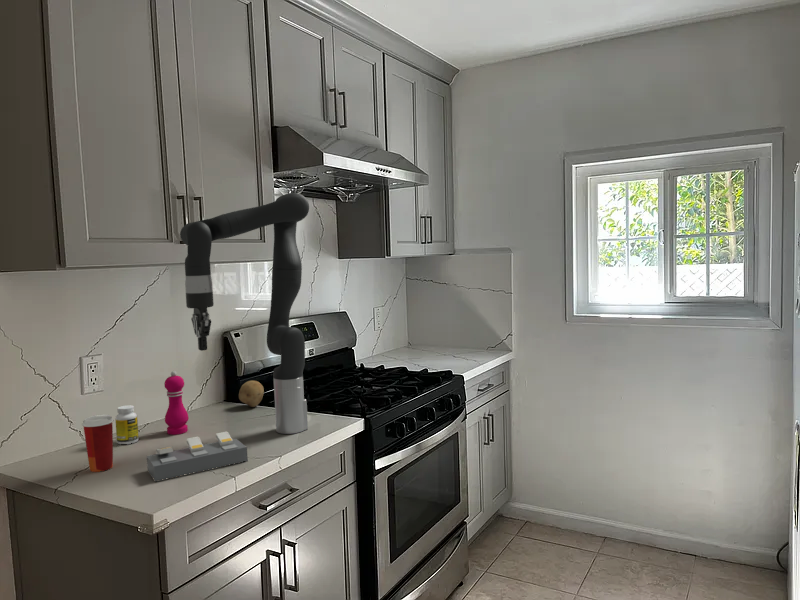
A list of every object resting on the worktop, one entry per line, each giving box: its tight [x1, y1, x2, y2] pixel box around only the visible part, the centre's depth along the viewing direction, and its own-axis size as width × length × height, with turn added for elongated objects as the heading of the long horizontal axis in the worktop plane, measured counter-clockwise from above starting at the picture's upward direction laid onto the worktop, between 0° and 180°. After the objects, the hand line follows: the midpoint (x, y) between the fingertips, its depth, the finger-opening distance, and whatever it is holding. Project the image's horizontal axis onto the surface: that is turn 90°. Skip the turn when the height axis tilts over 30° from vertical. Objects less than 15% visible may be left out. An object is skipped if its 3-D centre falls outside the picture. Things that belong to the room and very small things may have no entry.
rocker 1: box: [155, 446, 174, 454], centre depth 162 cm, size 3×5×1 cm, turn 33°
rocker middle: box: [186, 436, 204, 453], centre depth 166 cm, size 3×5×1 cm, turn 33°
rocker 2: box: [215, 431, 234, 446], centre depth 170 cm, size 3×5×1 cm, turn 33°
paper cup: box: [81, 414, 114, 473], centre depth 165 cm, size 8×8×14 cm
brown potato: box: [238, 380, 265, 408], centre depth 226 cm, size 9×9×10 cm
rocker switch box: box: [146, 438, 249, 482], centre depth 165 cm, size 24×10×4 cm, turn 123°
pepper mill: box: [164, 370, 189, 436], centre depth 197 cm, size 7×7×20 cm
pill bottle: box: [114, 404, 140, 445], centre depth 188 cm, size 6×6×11 cm
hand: (202, 350), depth 179 cm, fingers closed
